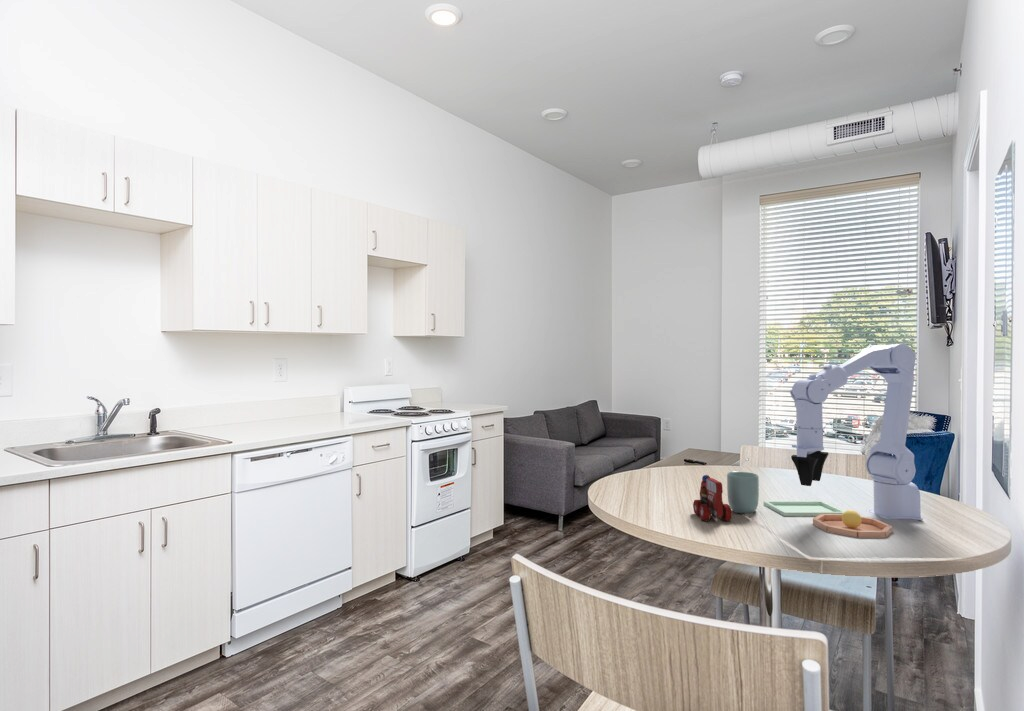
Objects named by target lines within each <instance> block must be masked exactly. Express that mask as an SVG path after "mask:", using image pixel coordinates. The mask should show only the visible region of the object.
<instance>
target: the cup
mask: <svg viewBox="0 0 1024 711" xmlns="http://www.w3.org/2000/svg"><path fill="white" fill-rule="evenodd" d="M759 477H760V476H759V474H757V473H754V472H747V471H729V472H727V474H726V496H727V502H728V505H729V506H730V508H731V511H733V512H734V513H736V514H740V515H745V514H751V513H752V514H753V513H755V512H756V511H757V509H758V505H759V499H760V498H759V497H760V492H759V491H760V480H759V479H760V478H759Z"/></svg>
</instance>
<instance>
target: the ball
mask: <svg viewBox="0 0 1024 711" xmlns="http://www.w3.org/2000/svg"><path fill="white" fill-rule="evenodd" d="M844 511H845V512H844V513H843V514H842V521H843V523H844V524H845V525H846V526H848V527H850V528H856V527H858V526H860V524H861V522H862V519H861V517H862V516H861V514H859V513H858V512H857V511H855V510H853V509H849V510H844Z"/></svg>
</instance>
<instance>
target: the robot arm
mask: <svg viewBox="0 0 1024 711" xmlns="http://www.w3.org/2000/svg"><path fill="white" fill-rule="evenodd" d="M916 357H917V355H916V352H914V351H913V349H912V348H911V347H910V346H909V345H908V344H906V343H898V344H881V345H880V344H879V345H878V344H871V345H869V346H867V347H864V348H862V349H861V351H860V352H858V353H857V354H856V355H854V356H852V357H851V358H850V359H848V360H846V361H845V362H843V363H841V364H840V365H835V364H832V365H831V364H826V365H823V366H822V368H823V369H821V370H819V371H818V372H816V373H811V374H810V375H808V378H807V379H798V380H797V381H795V382H794V384H793V385H792V387H791V389H790V391H789V394H790V396H791V398H792V400H793V401H794V407H795V409H796V410H795V411H796V412H795V414H796V415H795V416H796V443H793V444H791V448H793V449H794V448H795V449H796V454H792V455H791V458H790V459H791V461H792V462H793V464H794V466H795V468H796V471H797V475H798V479H799V482H800V483H799V484H800V485H801V486H806V487H811V486H812V483H813V481H815V482H820V480H821V478H822V474H823V468H824V464H825V462H826V460H827V458H828V457H829V452H828V451H824V450H825V446H824V429H823V425H824V424H823V422H824V421H823V403H824V402H825V401H826V400H827V399H828V396H829V394H832V393H833V392H835V391H836V390H838V389H840V388H841V387H843V386H845V385H846V384H848V378H849V377H852V376H854V375H856V374H858V373H860V372H862V371H864V370H866V369H868V368H869V369H870V370H872V371H873V372H874V373H876V374H878V375H879V376H880V377H882V378H883V379H884V380H885V381H886V383H887V385H886V391H885V392H886V394H885V401H884V407H883V415H882V422H881V430H880V436H879V437H880V438H879V442H877V443H876V444H874V445H873V446H871V447H870V451H869V454H868V456H867V457H866V459H865V471H866V472H867V473H868V474H869V475H870V478H871V480H872V482H873V509H867V510H866V511H867V512H869V513H871V514H874V515H875V516H878V517H881V518H883V519H891V520H893V519H900V520H901V519H903V520H904V519H907V520H909V519H911V520H912V519H914V520H915V521H924V518H923V517H921V516H922V514H921V493H920V490H919V487H918V486H917V484H915V482H914V483H913V482H912V481H913V479H914V478H915V476H916V472H917V470H916V464H915V454H914V453H913V451H911V450H910V449H909V448H908V447H907V446H906V442H907V435H908V427H909V421H910V419H909V418H910V412H911V405H912V399H913V398H912V397H913V390H914V384H915V373H914V372H915V365H916V360H917V359H916ZM866 511H865V512H866Z"/></svg>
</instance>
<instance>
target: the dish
mask: <svg viewBox="0 0 1024 711" xmlns="http://www.w3.org/2000/svg"><path fill="white" fill-rule="evenodd" d="M861 519H862V522H861V524H860V526H858V527H856V528H850V527H848V526H846V525H845V524H844V523H843V521H842V514H820V515H818V516H814V517H813V518H812V524H813V526H815V527H817V528H820V529H821V530H823V531H825V532H827V533H832V534H837V535H842V536H847V537H852V538H861V539H862V538H865V539H870V538H871V539H872V538H873V539H878V538H880V539H881V538H882V539H884V538H888V537H889V536H890V535H891V534H892V533H893V532H894V531H893V530H894V529H893V526H892V525H891V524H889V523H886V522H884V521H881V520H879V519H876V518H872V517H865V516H861Z"/></svg>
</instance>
